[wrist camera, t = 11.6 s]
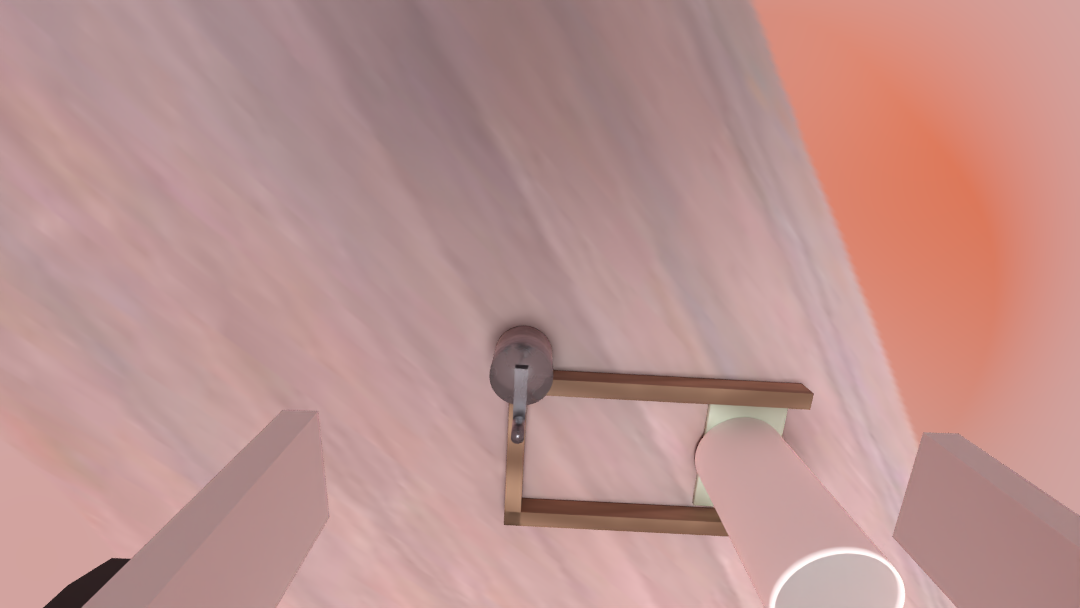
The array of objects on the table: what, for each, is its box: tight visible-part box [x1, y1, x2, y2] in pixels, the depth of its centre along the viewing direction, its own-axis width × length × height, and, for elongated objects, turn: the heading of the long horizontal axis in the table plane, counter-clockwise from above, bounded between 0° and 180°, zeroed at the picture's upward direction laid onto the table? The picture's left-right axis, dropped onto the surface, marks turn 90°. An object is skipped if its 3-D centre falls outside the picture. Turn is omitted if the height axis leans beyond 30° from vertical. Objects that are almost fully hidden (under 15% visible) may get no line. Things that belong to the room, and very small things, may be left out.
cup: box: [695, 417, 905, 608], centre depth 38 cm, size 8×8×16 cm
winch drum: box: [490, 326, 553, 444], centre depth 40 cm, size 6×5×8 cm
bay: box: [504, 370, 814, 536], centre depth 45 cm, size 15×26×2 cm, turn 87°
